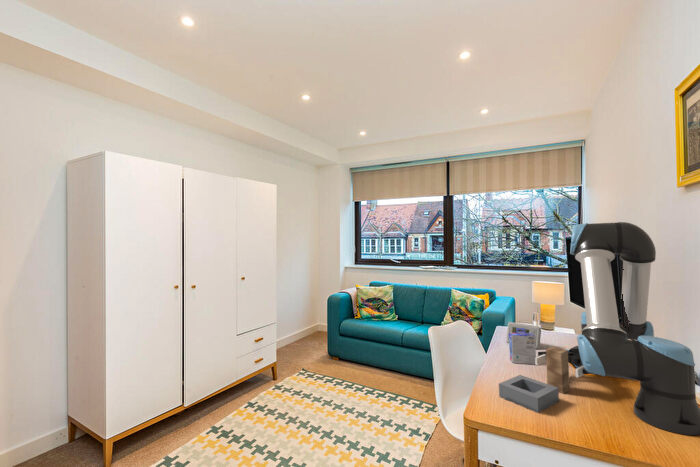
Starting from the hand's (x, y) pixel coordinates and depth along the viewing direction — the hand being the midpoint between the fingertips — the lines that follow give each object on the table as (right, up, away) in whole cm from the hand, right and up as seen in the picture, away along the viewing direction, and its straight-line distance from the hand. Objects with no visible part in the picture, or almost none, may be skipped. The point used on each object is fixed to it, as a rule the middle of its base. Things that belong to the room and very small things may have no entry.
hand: (555, 367), depth 116 cm
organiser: (-14, -8, -7) cm, 17 cm away
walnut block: (+1, -8, 0) cm, 8 cm away
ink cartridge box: (+3, -9, +27) cm, 29 cm away
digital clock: (+15, -10, +50) cm, 53 cm away
